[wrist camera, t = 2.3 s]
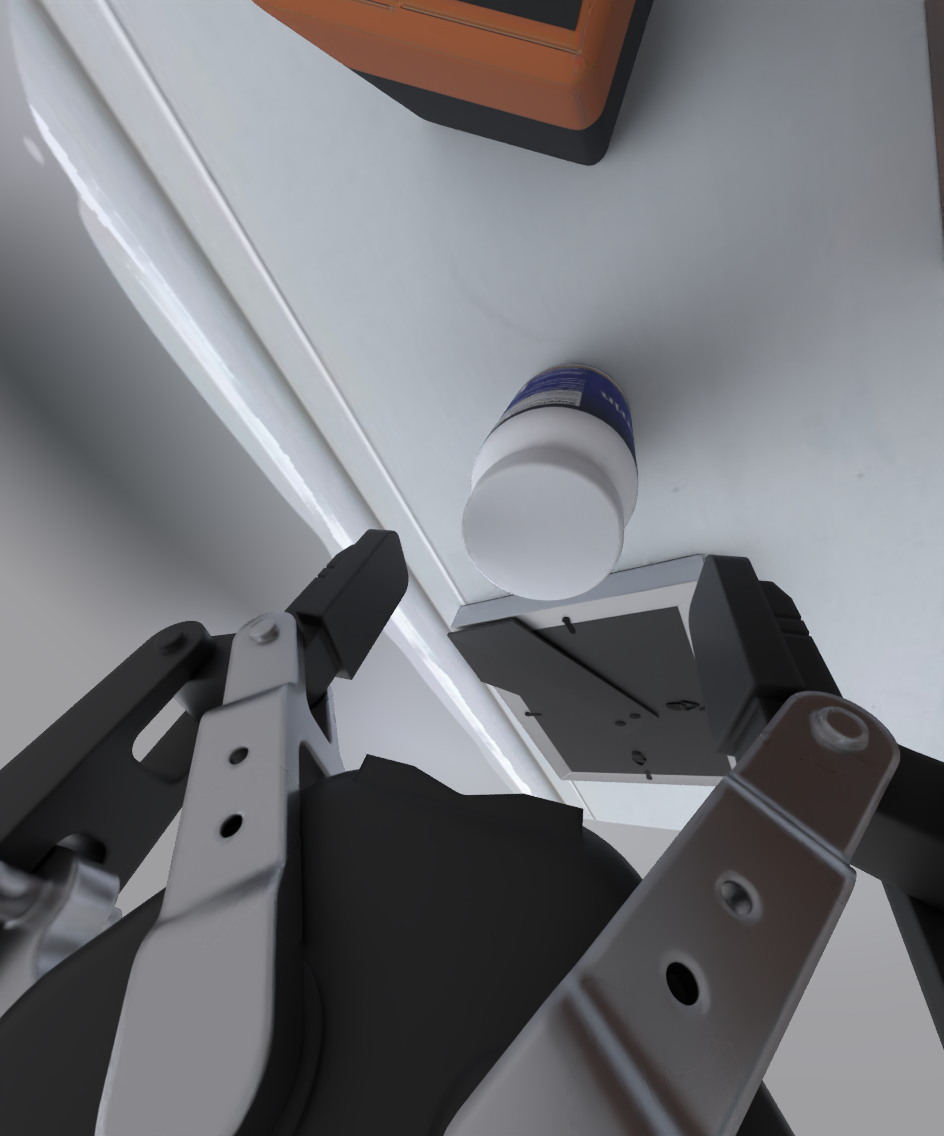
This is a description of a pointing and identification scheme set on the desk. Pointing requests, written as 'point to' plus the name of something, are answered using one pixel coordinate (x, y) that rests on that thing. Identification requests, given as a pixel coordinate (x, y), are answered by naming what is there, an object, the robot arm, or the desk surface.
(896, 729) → the desk surface
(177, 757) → the robot arm
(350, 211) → the desk surface
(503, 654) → the picture frame
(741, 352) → the desk surface
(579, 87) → the battery
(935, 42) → the stand
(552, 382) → the pill bottle
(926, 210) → the desk surface
